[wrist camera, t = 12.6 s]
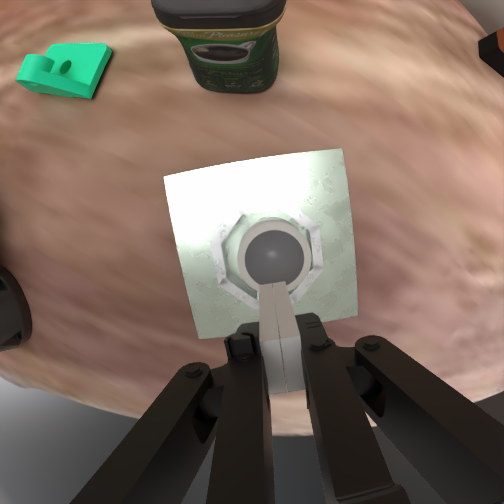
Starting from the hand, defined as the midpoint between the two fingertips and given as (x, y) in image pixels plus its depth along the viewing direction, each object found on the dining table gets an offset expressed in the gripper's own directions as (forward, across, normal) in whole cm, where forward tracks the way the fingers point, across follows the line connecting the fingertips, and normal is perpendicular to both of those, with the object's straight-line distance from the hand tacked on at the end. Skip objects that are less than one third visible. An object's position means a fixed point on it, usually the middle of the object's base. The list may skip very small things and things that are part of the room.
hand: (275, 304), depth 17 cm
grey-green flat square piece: (+16, 0, 0) cm, 16 cm away
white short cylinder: (+15, 0, 0) cm, 15 cm away
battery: (+17, +43, +26) cm, 53 cm away
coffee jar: (+17, 0, +22) cm, 28 cm away
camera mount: (+17, -22, +29) cm, 40 cm away
